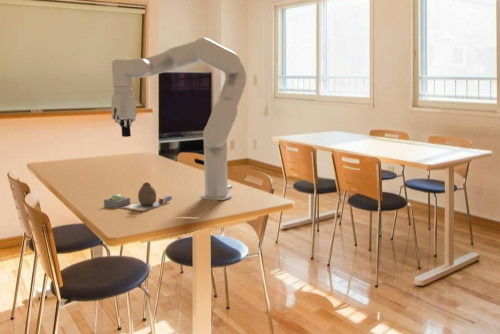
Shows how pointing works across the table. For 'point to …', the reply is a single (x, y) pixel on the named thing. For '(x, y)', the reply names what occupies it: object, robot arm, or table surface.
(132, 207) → the picture frame
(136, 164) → the table surface
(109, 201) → the button box
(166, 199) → the marker
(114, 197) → the button
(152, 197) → the vase
